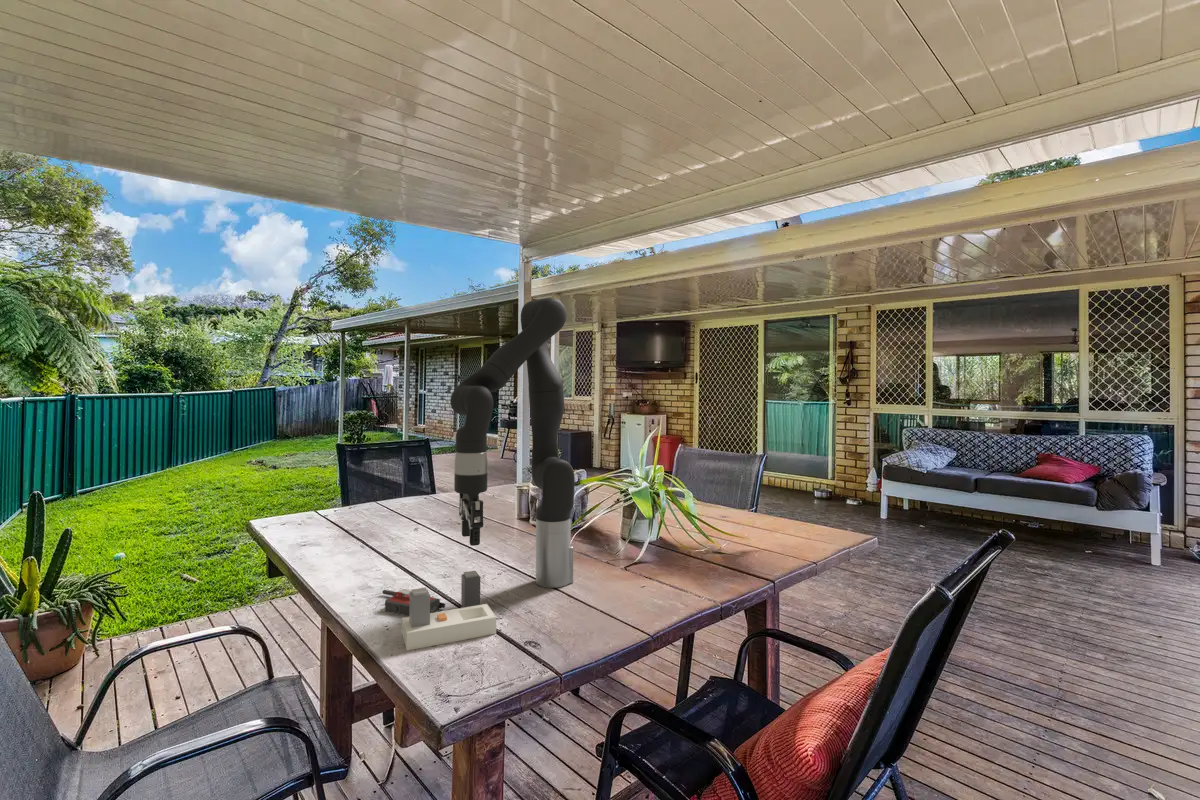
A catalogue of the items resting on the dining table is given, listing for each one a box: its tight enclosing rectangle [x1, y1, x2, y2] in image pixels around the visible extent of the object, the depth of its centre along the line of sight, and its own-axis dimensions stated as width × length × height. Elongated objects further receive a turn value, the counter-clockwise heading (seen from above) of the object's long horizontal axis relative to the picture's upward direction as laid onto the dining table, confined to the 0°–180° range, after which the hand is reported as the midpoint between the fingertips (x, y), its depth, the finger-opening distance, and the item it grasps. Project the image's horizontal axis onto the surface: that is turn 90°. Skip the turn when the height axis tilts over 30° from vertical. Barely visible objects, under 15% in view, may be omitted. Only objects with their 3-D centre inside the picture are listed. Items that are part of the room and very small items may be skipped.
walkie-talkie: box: [382, 588, 446, 617], centre depth 132 cm, size 9×4×20 cm
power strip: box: [401, 587, 497, 652], centre depth 117 cm, size 18×8×10 cm, turn 116°
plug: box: [460, 570, 481, 608], centre depth 130 cm, size 4×4×9 cm
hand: (470, 540), depth 130 cm, fingers open, 8 cm apart
